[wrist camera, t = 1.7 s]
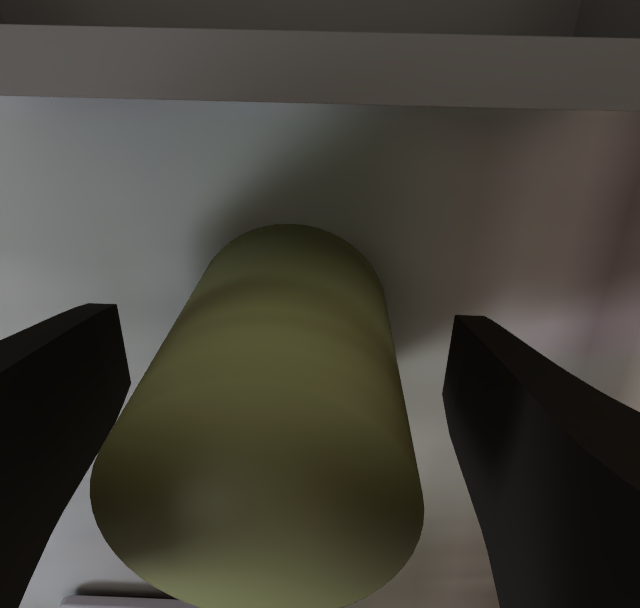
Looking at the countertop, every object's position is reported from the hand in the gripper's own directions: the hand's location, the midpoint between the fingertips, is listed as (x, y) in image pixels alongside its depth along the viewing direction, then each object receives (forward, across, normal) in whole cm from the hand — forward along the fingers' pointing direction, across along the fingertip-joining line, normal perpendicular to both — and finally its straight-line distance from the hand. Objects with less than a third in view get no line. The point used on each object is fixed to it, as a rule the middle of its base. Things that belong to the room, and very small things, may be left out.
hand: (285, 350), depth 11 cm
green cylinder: (+2, 0, 0) cm, 2 cm away
